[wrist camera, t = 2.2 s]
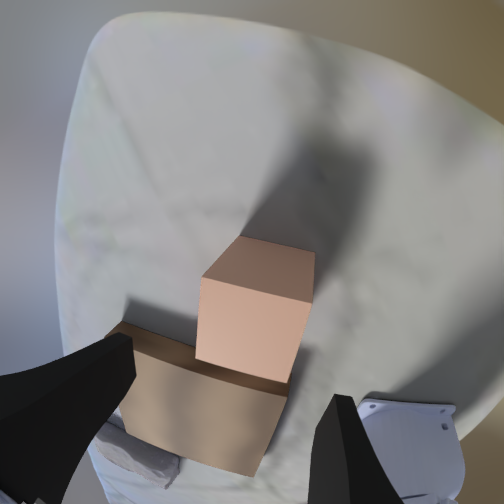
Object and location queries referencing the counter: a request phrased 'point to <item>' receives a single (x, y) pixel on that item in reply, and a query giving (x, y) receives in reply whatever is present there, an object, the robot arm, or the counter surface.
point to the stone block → (137, 455)
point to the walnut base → (199, 404)
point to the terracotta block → (255, 307)
